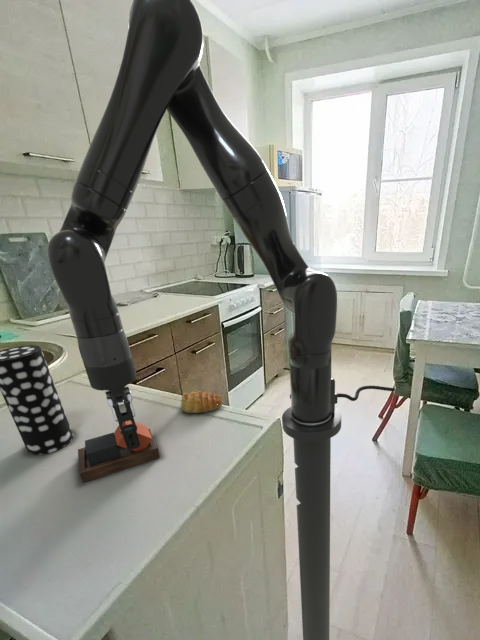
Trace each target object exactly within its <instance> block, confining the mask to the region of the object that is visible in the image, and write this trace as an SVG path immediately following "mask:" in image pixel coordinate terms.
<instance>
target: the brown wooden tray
mask: <svg viewBox="0 0 480 640" xmlns="http://www.w3.org/2000/svg"><path fill="white" fill-rule="evenodd" d="M148 430H149V432H150V435H151V437H152V439H151V441H150V443H149V444H148V446H147V447H146V449H144V450H141V451H138V452H136V451H133V450H128V449H126V448H123V447H120V446H118V447H119V452H120V456H121V457H119V458H116V459H113V460H110V461H106V462H103V463H100V464H97V465H94V466H91V467H90V464H89V461H88V459H87V456H86V449H85V446H84V447H81V448H78V449H77V459H78V460H77V461H78V474H79V478H80V480H81V482H82V484H83V483H87V482H90V481H94V480H96V479H99V478H102V477H105V476H108V475H111V474H114V473H117V472H120V471H124V470H126V469H129V468H132V467H136V466H138V465H141V464H145V463H147V462H151V461H153V460H156V459H160V458H161V456H160V452H159V448H158V446H157V445H158V444H157V443H156V440H155V437H154V435H153V433H152V431H151V428H150V427H148Z"/></svg>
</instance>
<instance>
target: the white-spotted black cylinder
mask: <svg viewBox="0 0 480 640" xmlns="http://www.w3.org/2000/svg"><path fill="white" fill-rule="evenodd" d="M43 352H44V351H43V350H42V347H41V346H40V345H37V344H28V345H27V344H26V345H18V346H13V347H8V348H5V349H0V393H1V396H2V397H3V400H4V402H5V404H6V406H7V409H8V411H9V413H10V415H11V417H12V419H13V422H14V424H15V426H16V429H17V431H18V433H19V435H20V437H21V439H22V442H23V444H24V447H25V449H26V451H27V453H28V454H31V455H37V456H38V455H39V456H40V455H46V454H50V453H53V452H55V451H56V452H57V451H58V450H61V449H62V448H64V447H66V446H68V445H69V444H70V443H71V442H72V440H73V439H74V433H73V431H72V428H71V425H70V422H69V420H68V417H67V415H66V412H65V408H64V406H63V404H62V401H61V398H60V395H59V393H58V390H57V388H56V385H55V382H54V378H53V377H52V374H51V371H50V369H49V366H48V363H47V359H46V358H45V355H44V353H43Z"/></svg>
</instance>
